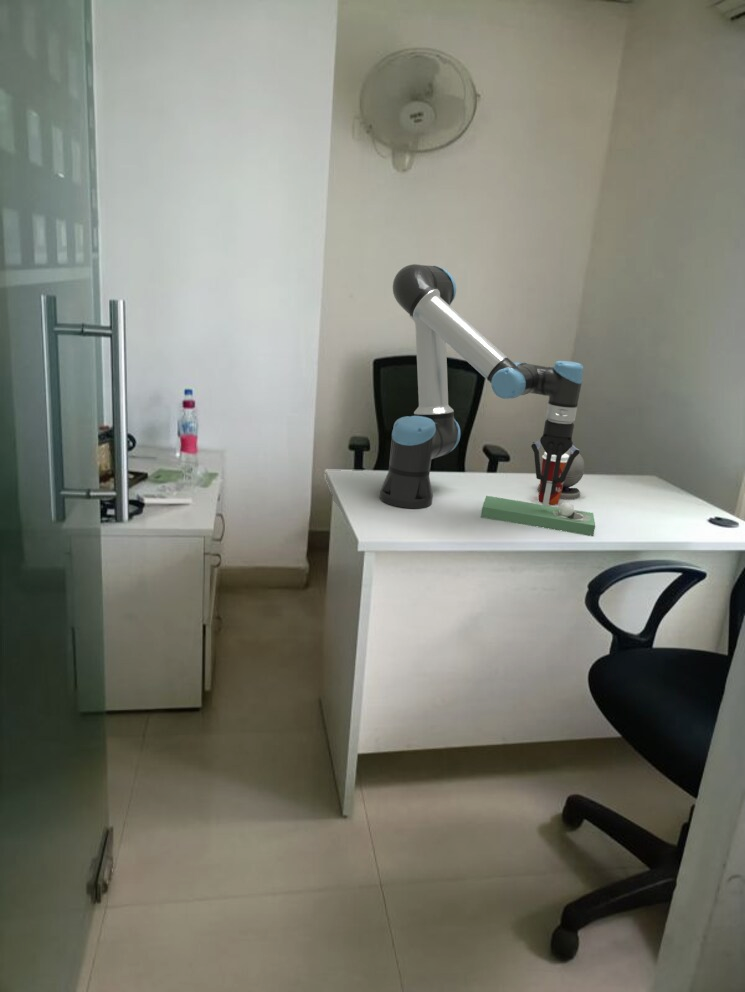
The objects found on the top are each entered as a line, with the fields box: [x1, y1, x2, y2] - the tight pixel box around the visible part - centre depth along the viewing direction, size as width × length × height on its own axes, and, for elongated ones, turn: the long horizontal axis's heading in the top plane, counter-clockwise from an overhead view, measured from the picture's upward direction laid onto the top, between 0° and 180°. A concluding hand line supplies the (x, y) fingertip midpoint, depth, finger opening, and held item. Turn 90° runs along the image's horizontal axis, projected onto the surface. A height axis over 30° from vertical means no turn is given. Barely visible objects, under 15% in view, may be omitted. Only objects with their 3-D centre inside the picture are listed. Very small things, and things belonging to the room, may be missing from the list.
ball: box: [558, 501, 575, 517], centre depth 193 cm, size 4×4×4 cm
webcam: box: [537, 449, 586, 501], centre depth 221 cm, size 13×13×15 cm
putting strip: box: [480, 495, 596, 537], centre depth 196 cm, size 30×11×3 cm, turn 76°
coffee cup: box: [537, 451, 569, 506], centre depth 212 cm, size 8×8×15 cm
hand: (545, 504), depth 195 cm, fingers closed
